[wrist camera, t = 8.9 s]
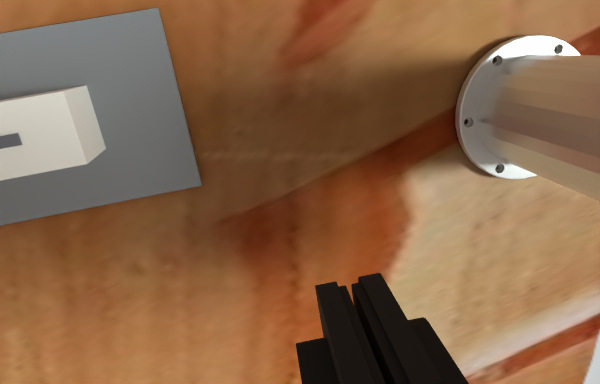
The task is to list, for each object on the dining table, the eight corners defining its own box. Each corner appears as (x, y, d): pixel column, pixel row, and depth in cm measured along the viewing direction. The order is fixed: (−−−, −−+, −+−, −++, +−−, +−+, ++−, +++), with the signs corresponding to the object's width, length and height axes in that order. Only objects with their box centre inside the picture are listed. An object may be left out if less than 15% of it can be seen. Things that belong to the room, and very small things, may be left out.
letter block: (62, 91, 30) (-133, 125, 28) (86, 164, 31) (-98, 199, 30) (86, 85, 34) (-80, 114, 33) (106, 148, 36) (-52, 178, 35)
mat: (158, 8, 34) (157, 7, 33) (201, 183, 39) (201, 185, 38) (-94, 49, 33) (-99, 49, 32) (-18, 227, 37) (-22, 229, 36)
